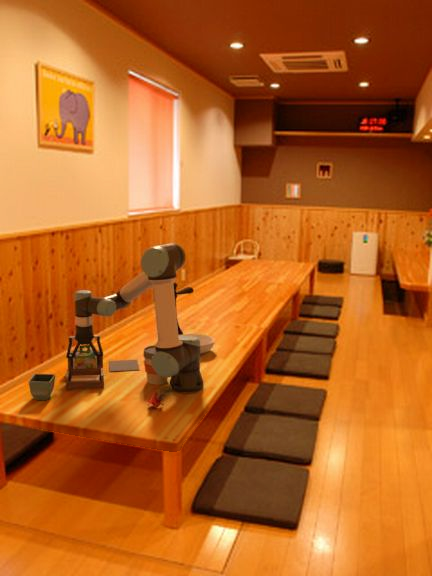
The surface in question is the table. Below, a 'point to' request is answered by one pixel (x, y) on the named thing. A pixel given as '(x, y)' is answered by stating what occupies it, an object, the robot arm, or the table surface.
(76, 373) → the walnut rack
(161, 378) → the reusable coffee cup
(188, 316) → the table surface
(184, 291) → the flared trumpet-armed statue
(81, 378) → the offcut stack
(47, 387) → the flower pot
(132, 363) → the rubber mat
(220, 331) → the table surface
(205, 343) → the serving bowl
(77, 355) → the chalk box
